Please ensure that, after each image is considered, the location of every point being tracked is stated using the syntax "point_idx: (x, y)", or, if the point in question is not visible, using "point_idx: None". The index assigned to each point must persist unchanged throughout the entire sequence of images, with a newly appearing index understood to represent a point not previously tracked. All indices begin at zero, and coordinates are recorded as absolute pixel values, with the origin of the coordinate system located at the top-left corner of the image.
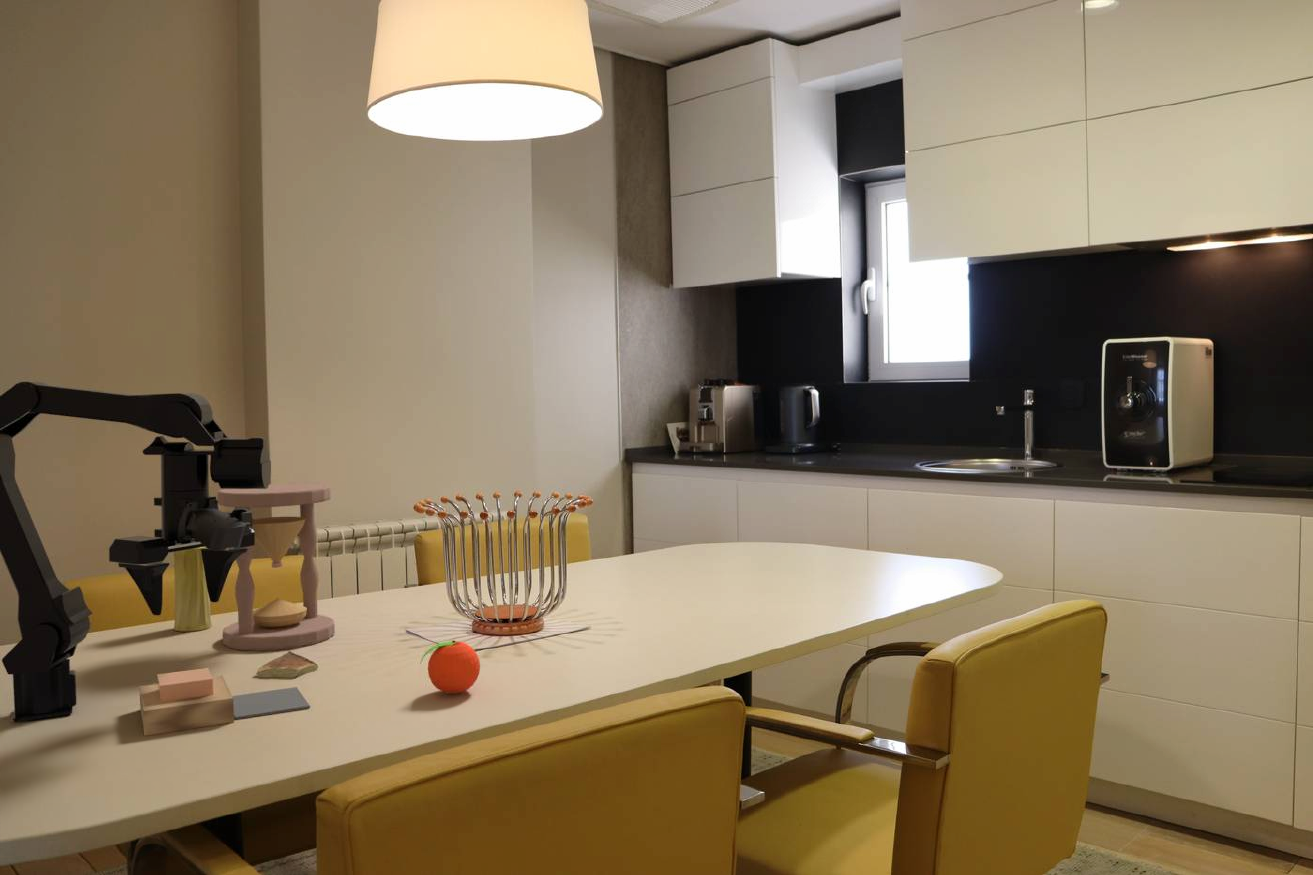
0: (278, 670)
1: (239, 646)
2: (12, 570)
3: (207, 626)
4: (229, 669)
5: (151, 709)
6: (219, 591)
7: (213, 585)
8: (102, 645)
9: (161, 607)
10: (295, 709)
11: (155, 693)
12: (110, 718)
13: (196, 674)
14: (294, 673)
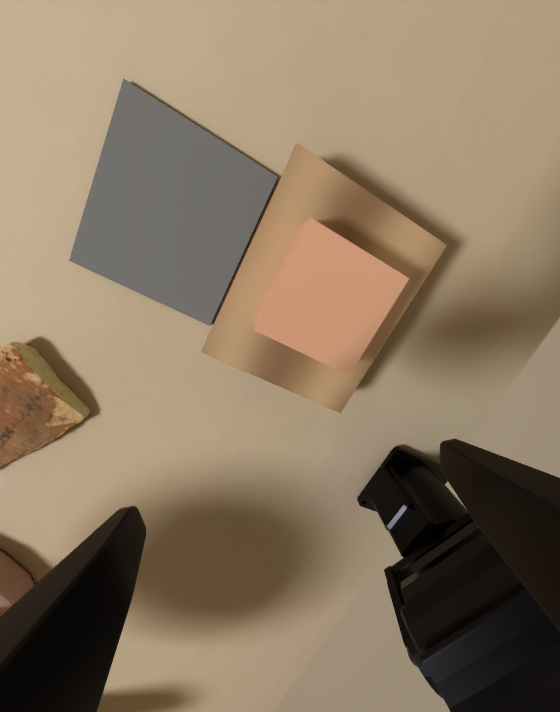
0: (48, 380)
1: (28, 583)
2: None
3: None
4: (105, 489)
5: (434, 239)
6: (91, 547)
7: (96, 609)
8: (176, 701)
9: (467, 456)
10: (158, 101)
11: None
12: (378, 388)
13: (305, 297)
14: (25, 348)
